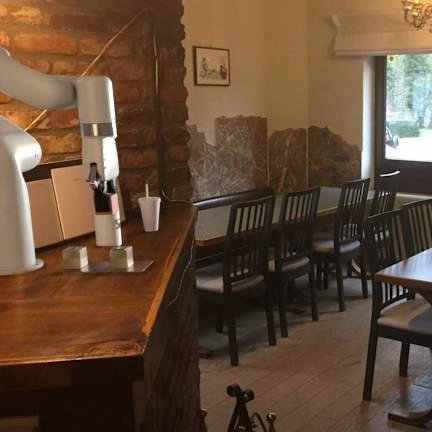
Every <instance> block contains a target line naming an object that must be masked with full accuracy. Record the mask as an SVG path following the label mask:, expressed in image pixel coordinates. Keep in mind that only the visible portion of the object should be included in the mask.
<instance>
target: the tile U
mask: <svg viewBox="0 0 432 432" xmlns="http://www.w3.org/2000/svg"><path fill="white" fill-rule="evenodd" d="M108 251H109V261H110V266H111V269H120V268H129V267H130V266H131V265H132V264H133V261H134V254H133V253H134V252H133V246H132V245H131V246H130V245H128V246H121V245H120V246H113V247H112V248H111V249H109V250H108Z"/></svg>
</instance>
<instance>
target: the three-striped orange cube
mask: <svg viewBox="0 0 432 432" xmlns="http://www.w3.org/2000/svg"><path fill="white" fill-rule="evenodd" d="M107 194H109V201H110V211H109V212H96V211H95V215H113V214H115V213H117V212H119V213H120V207H119V208H118V206H119V199H118V192H116V193H107ZM92 198H93V199H94V195H93V197H92ZM93 208H95V202H94V201H93Z"/></svg>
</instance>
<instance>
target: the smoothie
mask: <svg viewBox="0 0 432 432" xmlns="http://www.w3.org/2000/svg"><path fill="white" fill-rule="evenodd" d="M161 200H162V199H161V197H159V196H149V187H148V183H145V196H144V197H139V198H137V202H138V204H139V209H140V213H141V218H142V224H143V229H144V232H156V231H158V230H159V219H160V203H161V202H162V201H161Z"/></svg>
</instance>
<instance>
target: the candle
mask: <svg viewBox="0 0 432 432" xmlns="http://www.w3.org/2000/svg"><path fill="white" fill-rule="evenodd" d="M92 208H93V222H94V231H95V232H94V233H95V244H96V247H115V246H121V245H122V234H121V218H120V217H121V216H120V211H119V212H117V213H115V214H113V215H95V208H94V207H92ZM118 208H119V209H120V207H119V205H118Z"/></svg>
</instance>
